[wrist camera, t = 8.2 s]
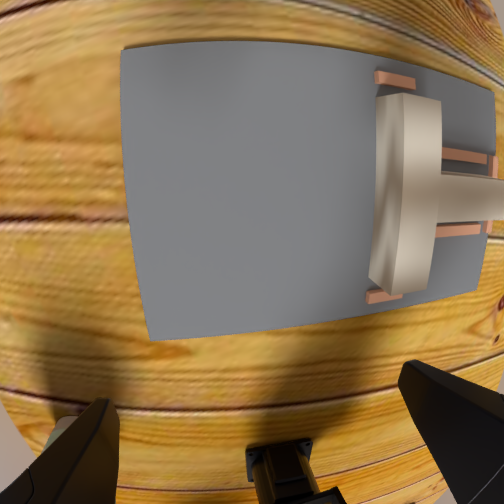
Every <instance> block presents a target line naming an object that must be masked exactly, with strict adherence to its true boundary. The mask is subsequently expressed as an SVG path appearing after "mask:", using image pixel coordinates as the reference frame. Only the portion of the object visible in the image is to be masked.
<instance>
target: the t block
mask: <svg viewBox="0 0 504 504" xmlns="http://www.w3.org/2000/svg"><path fill="white" fill-rule="evenodd" d="M375 98H376V186H375V206H374V222H373V235H372V246H371V257H370V266H369V275H368V277H369V278H370V279H371V280H372V281H373V282H375V283H376V284H377V285H378V286H379V287H381V288H382V289H383V290H384V291H385V292H386V293H388V294H389V295H390V296H394V295H400V294H405V293H410V292H415V291H420V290H425V289H426V288H427V283H428V278H429V272H430V267H431V261H432V254H433V248H434V241H435V233H436V225H437V223H444V222H465V221H487V220H504V180H501V179H497V178H493V177H489V176H485V175H479V174H469V173H460V172H449V171H441V158H442V113H441V101H438V100H434V99H430V98H425V97H421V96H416V95H412V94H407V93H398V94H392V95H386V96H381V97H375Z"/></svg>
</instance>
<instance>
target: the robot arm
mask: <svg viewBox="0 0 504 504" xmlns="http://www.w3.org/2000/svg"><path fill="white" fill-rule="evenodd" d="M398 387H399V390H400V392H401V394H402V396H403V399H404V401H405V403H406V406H407V408H408V410H409V413H410V415H411V417H412V419H413V422H414V423H415V425H416V427H417V429H418V431H419V433H420V434H421V436H422V438H423V440H424V442H425V443H426V445H427V447H428V449H429V451H430V453H431V454H432V456H433V458H434V460H435V462H436V464H437V466H438V467H439V469H440V471H441V473H442V475H443V477H444V479H445V481H446V483H447V485H448V487H449V488H450V490H451V492H452V494H453V496H454V498H455V500H456V502H457V504H504V395H503V394H499V393H498V392H495V391H493V390H490V389H488V388H485V387H482V386H480V385H477V384H475V383H472V382H470V381H467V380H465V379H462V378H460V377H457V376H455V375H452V374H450V373H447V372H445V371H443V370H440V369H438V368H435V367H433V366H430V365H428V364H426V363H423V362H421V361H418V360H410V361H407V362H405V363H404V364H403V367H402V370H401V373H400V376H399V379H398ZM119 429H120V421H119V417H118V414H117V411H116V409H115V406H114V404H113V401H112V400H111V399H110V398H101V397H99V398H97V399H95V400H94V401H93V402H92V403H91V404H90V405H89V406H88V407H87V408H86V409H85V410H84V411H83V412H82V413H81V414H80V415H79V416H78V417H77V418H76V419H75V420H74V421H73V422H72V423H71V424H70V425H69V426H68V427H67V428H66V429H65V430H64V431H63V432H62V433H61V434H60V435H59V436H58V437H57V438H56V439H55V440H54V441H53V443H52V444H51V445H50V446H49V447H48V448H47V449H46V450H45V451H44V452H43V453H42V454H41V455H40V456H39V457H38V458H37V459H36V460H35V461H34V462H33V463H32V464H31V465H30V466H29V469H28V468H27V469H26V470H25V471H24V472H23V473H22V474H21V475H20V476H19V477H18V478H17V479H16V480H14V481H13V482H12V484H10V485H9V486H8V487H7V488H6V489H4V490H3V491H2V492H1V493H0V504H115V497H116V487H117V479H118V470H119ZM312 444H313V442H312V440H311V439H310V438H307V439H302V440H298V441H293V442H288V443H282V444H277V445H271V446H265V447H259V448H252V449H248V450H246V451H245V457H246V468H247V478H248V482H254V484H255V488H256V493H257V497H258V501H259V504H347V503H346V502H345V500H344V498H343V496H342V494H341V493H340V491H339V489H338V487H337V486H335V487H333V488H331V489H329V490H326V491H323V492H320V490H319V488H318V485H317V483H316V480H315V477H314V475H313V472H312V470H311V467H310V464H309V460H310V455H311V450H312Z"/></svg>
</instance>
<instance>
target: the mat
mask: <svg viewBox="0 0 504 504" xmlns="http://www.w3.org/2000/svg"><path fill="white" fill-rule="evenodd" d="M398 93H407V94H412V95H416V96H421V97H425V98H430V99H434V100H438V101H441V113H442V158H441V171H449V172H460V173H469V174H479V175H485V176H489V177H493V178H497V175H498V157H496V156H495V154H496V118H495V98H494V92H492V91H490V90H487V89H485V88H482V87H480V86H477V85H475V84H472V83H470V82H467V81H464V80H461V79H459V78H456V77H453V76H450V75H447V74H444V73H441V72H438V71H434V70H431V69H428V68H424V67H421V66H417V65H414V64H410V63H406V62H402V61H398V60H394V59H390V58H385V57H381V56H376V55H371V54H366V53H361V52H355V51H350V50H344V49H337V48H330V47H323V46H314V45H305V44H294V43H281V42H263V41H206V42H188V43H175V44H164V45H155V46H147V47H139V48H132V49H126V50H121V64H120V105H121V134H122V152H123V166H124V179H125V189H126V199H127V208H128V217H129V225H130V232H131V240H132V247H133V253H134V260H135V266H136V272H137V278H138V283H139V289H140V294H141V300H142V305H143V310H144V315H145V319H146V324H147V329H148V333H149V338H150V341H162V340H176V339H189V338H201V337H212V336H222V335H232V334H241V333H250V332H258V331H266V330H274V329H282V328H289V327H296V326H303V325H309V324H316V323H322V322H328V321H335V320H340V319H346V318H352V317H357V316H363V315H368V314H374V313H379V312H384V311H389V310H394V309H398V308H403V307H408V306H413V305H417V304H422V303H426V302H430V301H435V300H439V299H443V298H447V297H451V296H455V295H459V294H463V293H467V292H471V291H475V290H477V286H478V282H479V278H480V273H481V269H482V264H483V259H484V254H485V249H486V243H487V237H488V233H491V230H492V223H493V220H487V221H465V222H444V223H437V225H436V233H435V241H434V248H433V254H432V261H431V267H430V272H429V278H428V283H427V288H426V289H425V290H420V291H415V292H410V293H405V294H400V295H394V296H390V295H389V294H388V293H386V292H385V291H384V290H383V289H382V288H381V287H379V286H378V285H377V284H376V283H375V282H373V281H372V280H371V279H370V278H369V277H368V275H369V266H370V257H371V246H372V235H373V222H374V206H375V186H376V98H375V97H381V96H386V95H392V94H398Z"/></svg>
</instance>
